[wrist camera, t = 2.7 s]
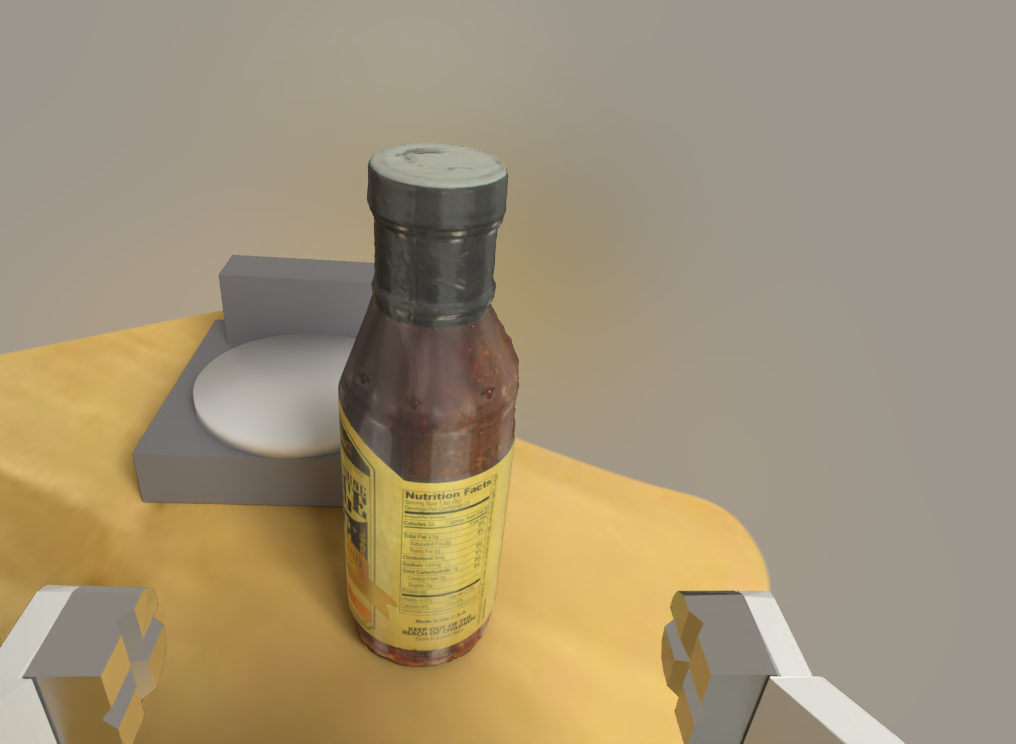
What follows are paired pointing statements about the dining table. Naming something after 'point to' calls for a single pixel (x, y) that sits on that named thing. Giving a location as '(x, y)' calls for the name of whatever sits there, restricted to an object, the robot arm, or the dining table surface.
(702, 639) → the robot arm
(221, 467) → the kitchen scale
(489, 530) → the sauce bottle
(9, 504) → the dining table surface
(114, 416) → the dining table surface
